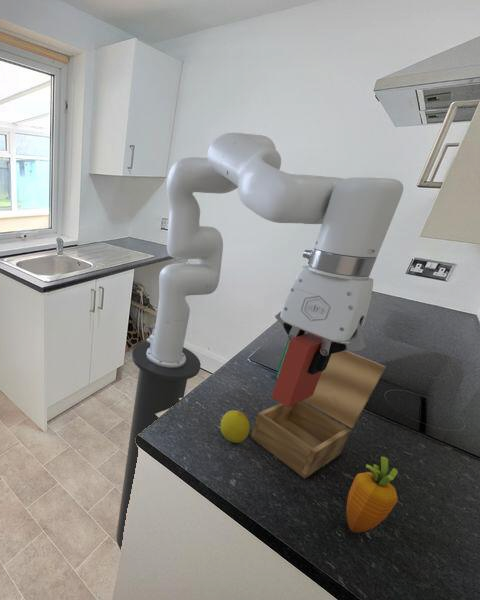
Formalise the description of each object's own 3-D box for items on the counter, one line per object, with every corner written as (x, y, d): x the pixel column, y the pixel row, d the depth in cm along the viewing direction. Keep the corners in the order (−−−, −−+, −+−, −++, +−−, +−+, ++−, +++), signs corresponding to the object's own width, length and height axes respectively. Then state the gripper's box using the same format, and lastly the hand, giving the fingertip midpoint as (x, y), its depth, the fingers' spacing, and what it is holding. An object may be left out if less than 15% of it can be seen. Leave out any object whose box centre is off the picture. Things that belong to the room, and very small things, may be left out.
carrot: (365, 554, 48) (406, 485, 43) (328, 525, 52) (361, 458, 47) (376, 536, 51) (416, 469, 45) (340, 510, 55) (373, 445, 49)
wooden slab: (384, 366, 60) (386, 366, 60) (319, 340, 69) (320, 340, 70) (351, 428, 64) (353, 427, 64) (293, 395, 73) (295, 394, 74)
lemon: (233, 430, 72) (242, 402, 69) (250, 449, 67) (259, 420, 64) (212, 432, 71) (219, 404, 68) (226, 452, 66) (235, 422, 63)
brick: (270, 397, 56) (290, 338, 52) (296, 386, 60) (316, 330, 55) (287, 407, 54) (309, 346, 49) (312, 395, 57) (335, 337, 53)
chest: (304, 478, 60) (315, 452, 58) (250, 437, 70) (258, 412, 68) (340, 454, 67) (351, 429, 64) (285, 419, 76) (294, 396, 74)
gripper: (273, 253, 53) (246, 348, 59) (399, 282, 39) (347, 400, 46) (298, 251, 56) (270, 341, 63) (422, 276, 43) (370, 387, 49)
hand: (303, 365), depth 54 cm, fingers closed on brick, 3 cm apart
